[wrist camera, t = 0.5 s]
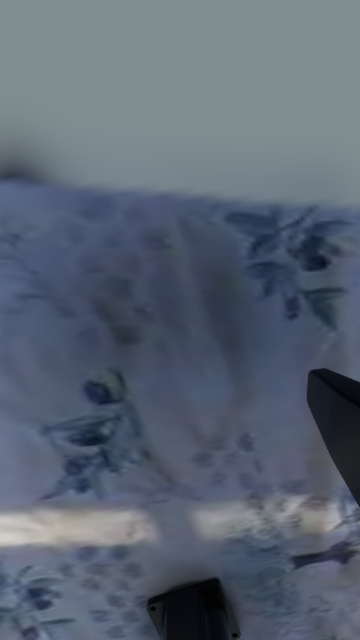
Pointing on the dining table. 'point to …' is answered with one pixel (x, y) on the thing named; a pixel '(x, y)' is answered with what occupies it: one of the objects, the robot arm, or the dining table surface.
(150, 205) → the dining table surface
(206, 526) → the dining table surface
